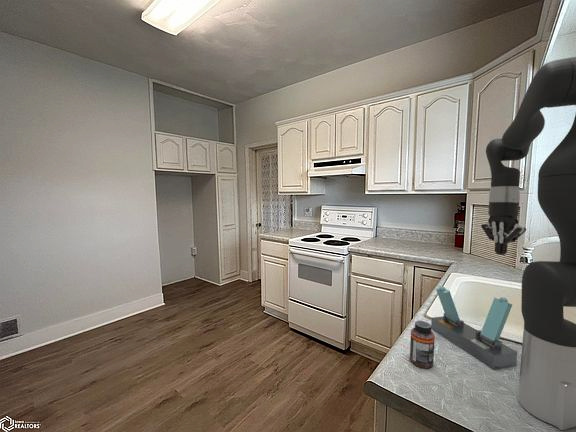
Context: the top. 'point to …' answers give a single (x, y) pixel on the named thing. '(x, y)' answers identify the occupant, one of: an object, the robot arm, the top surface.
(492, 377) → the top surface
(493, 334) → the inner lever
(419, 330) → the supplement bottle
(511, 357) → the switch box
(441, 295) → the outer lever
